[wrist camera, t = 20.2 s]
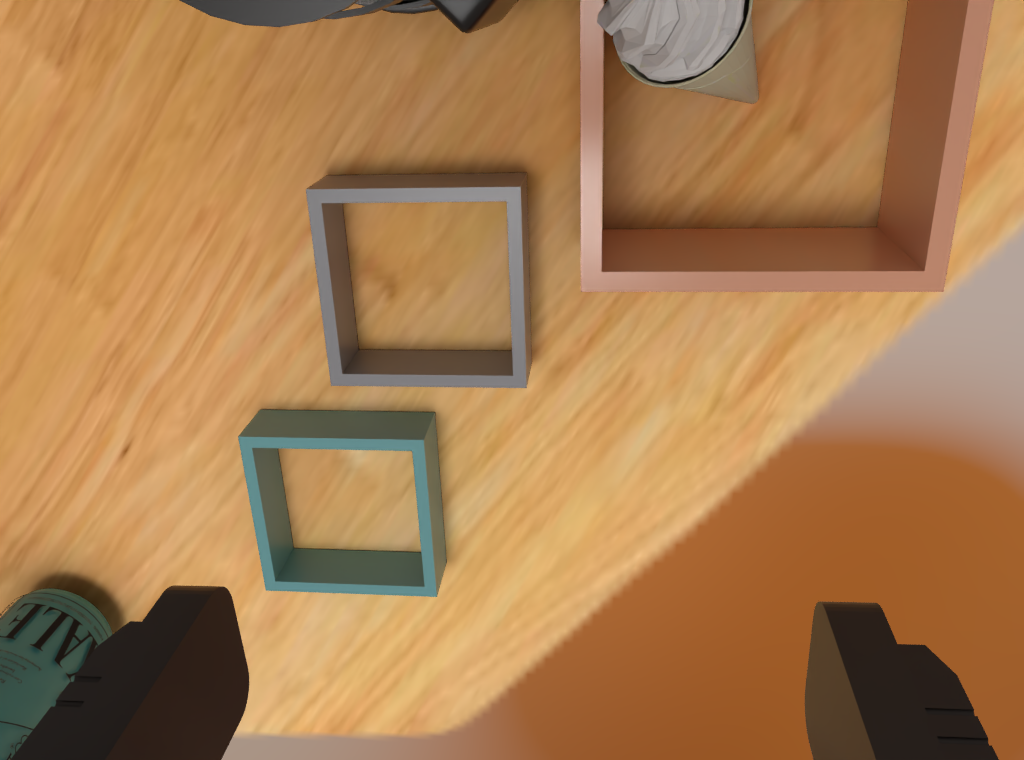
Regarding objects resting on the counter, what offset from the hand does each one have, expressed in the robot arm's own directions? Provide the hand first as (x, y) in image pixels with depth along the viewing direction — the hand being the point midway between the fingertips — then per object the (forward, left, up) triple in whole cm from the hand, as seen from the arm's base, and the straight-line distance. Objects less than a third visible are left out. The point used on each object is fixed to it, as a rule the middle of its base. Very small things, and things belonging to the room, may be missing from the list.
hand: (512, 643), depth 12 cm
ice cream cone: (-3, +7, -30) cm, 31 cm away
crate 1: (+4, -7, -30) cm, 31 cm away
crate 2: (+16, -12, -30) cm, 36 cm away
